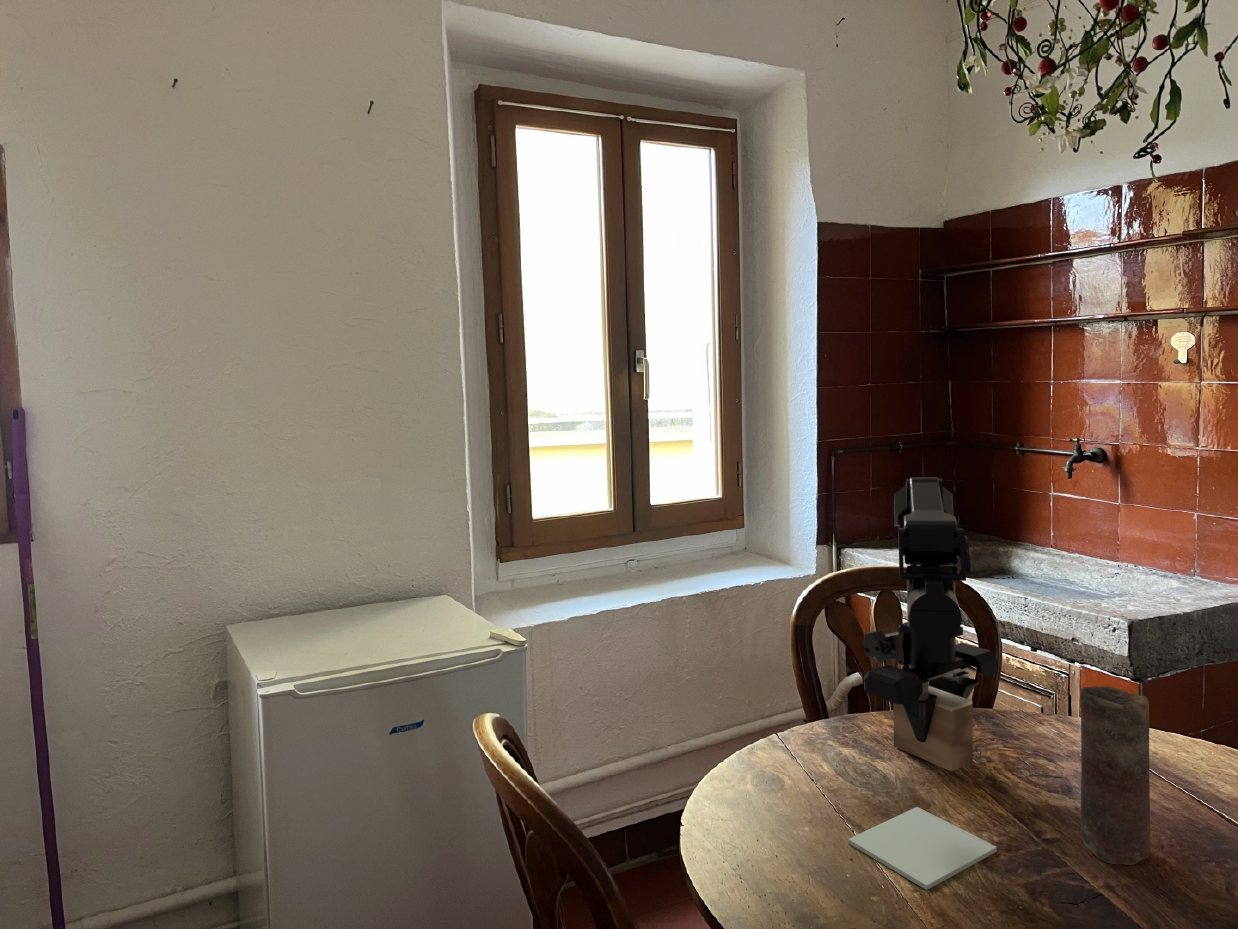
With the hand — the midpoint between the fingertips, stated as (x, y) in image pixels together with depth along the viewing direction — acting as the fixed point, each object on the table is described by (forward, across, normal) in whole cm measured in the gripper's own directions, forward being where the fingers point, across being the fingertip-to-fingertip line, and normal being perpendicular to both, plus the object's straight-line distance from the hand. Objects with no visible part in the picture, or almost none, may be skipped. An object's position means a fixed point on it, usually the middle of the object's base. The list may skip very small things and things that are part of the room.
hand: (932, 737), depth 110 cm
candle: (+13, -14, +15) cm, 24 cm away
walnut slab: (+2, 0, 0) cm, 2 cm away
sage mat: (+13, +4, +2) cm, 13 cm away
